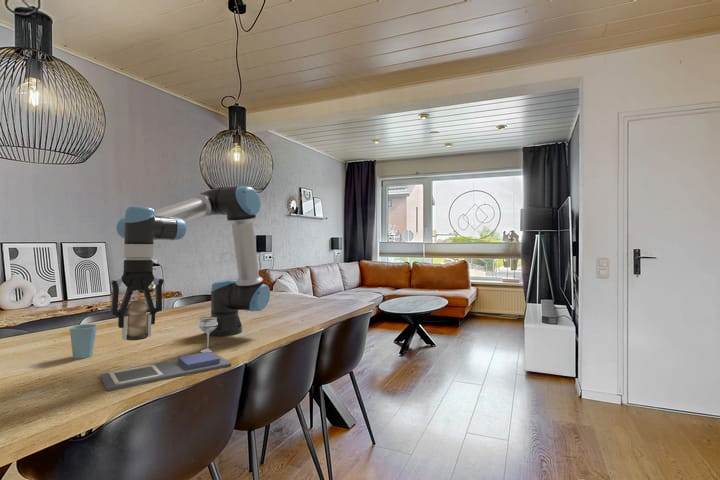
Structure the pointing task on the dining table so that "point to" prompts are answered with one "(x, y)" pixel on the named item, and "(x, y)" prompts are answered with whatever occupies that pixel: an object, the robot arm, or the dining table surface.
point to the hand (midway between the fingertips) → (136, 337)
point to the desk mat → (163, 370)
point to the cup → (83, 340)
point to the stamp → (136, 320)
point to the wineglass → (208, 328)
